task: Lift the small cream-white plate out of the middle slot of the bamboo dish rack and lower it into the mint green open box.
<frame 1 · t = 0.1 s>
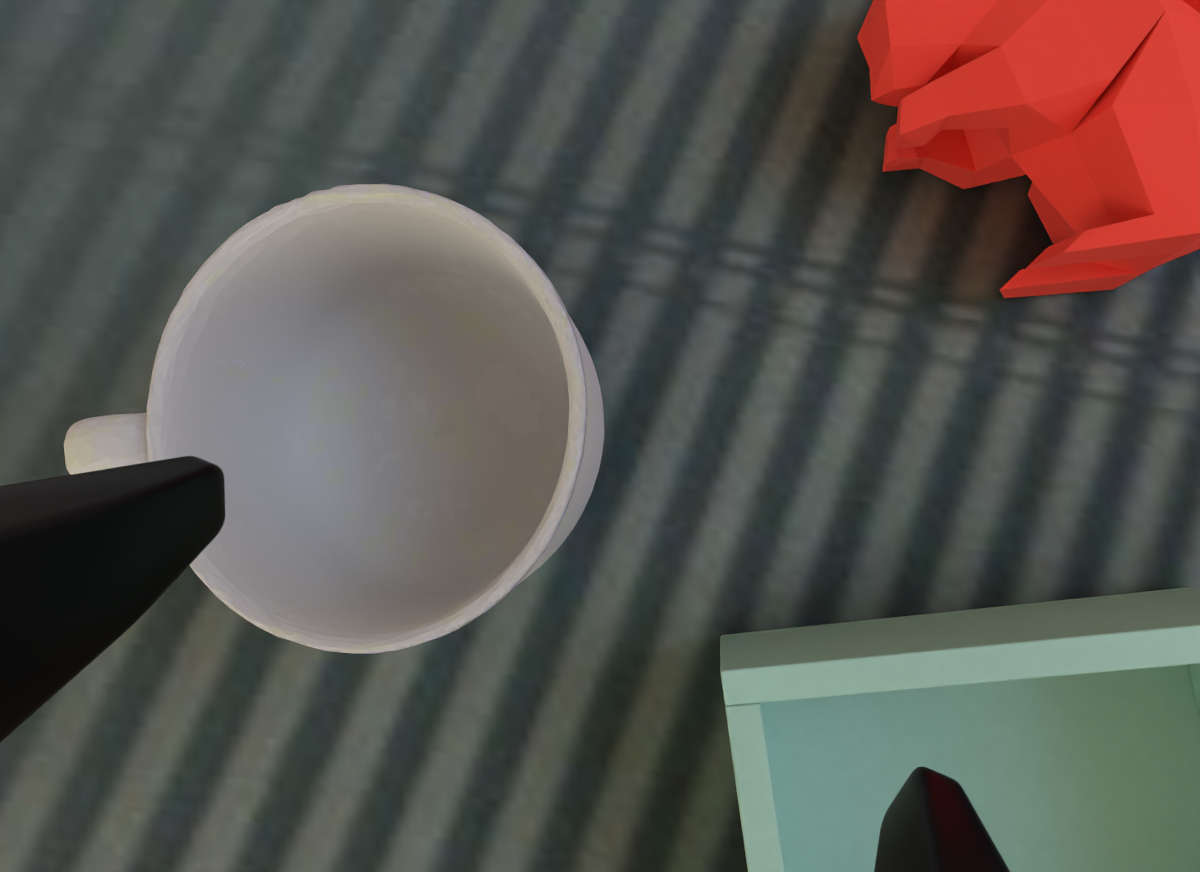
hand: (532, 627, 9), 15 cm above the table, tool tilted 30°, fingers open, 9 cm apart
teacup: (421, 442, 25), on the table
animal figurine: (1034, 64, 24), on the table
mint green open box: (982, 820, 21), on the table
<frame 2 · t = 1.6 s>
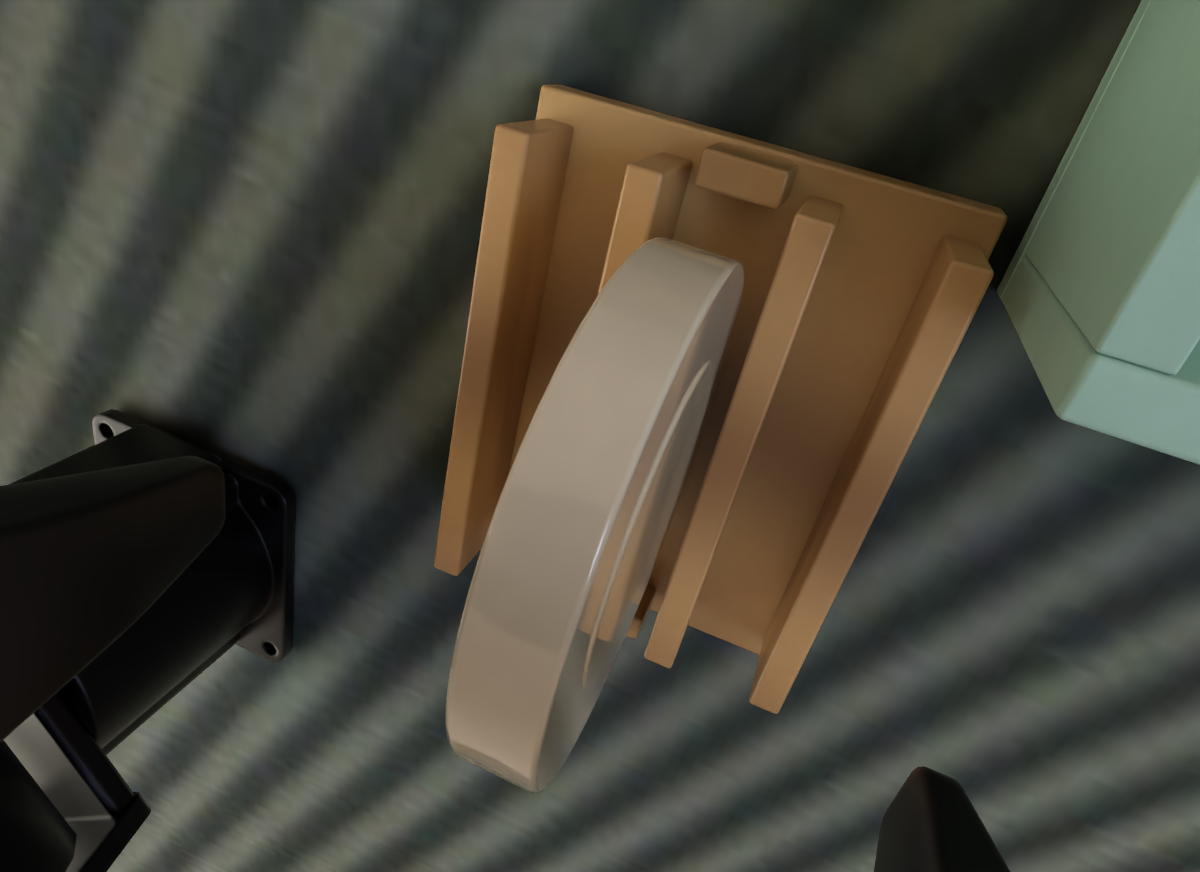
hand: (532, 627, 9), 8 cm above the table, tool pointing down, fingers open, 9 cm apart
dish rack: (688, 394, 16), on the table
plate: (679, 409, 15), point 1 cm above the table, touching dish rack
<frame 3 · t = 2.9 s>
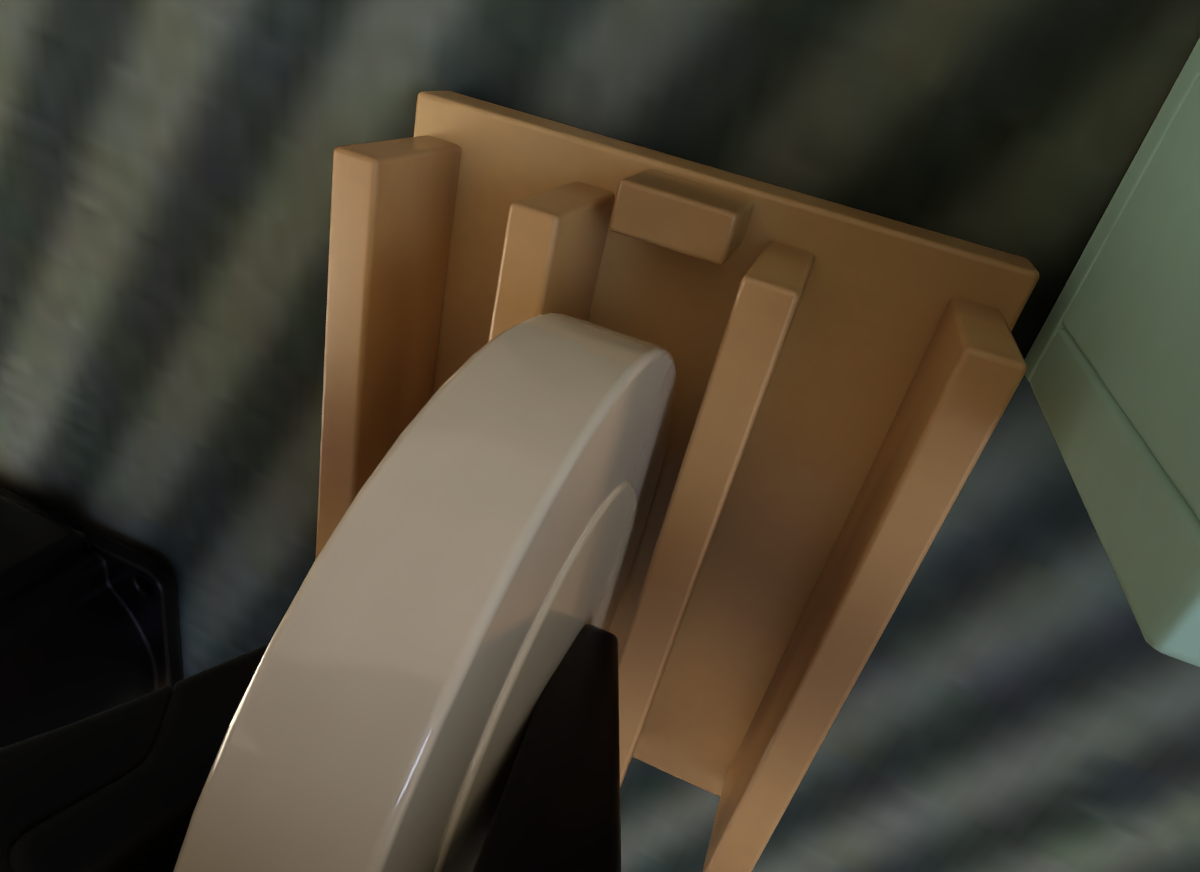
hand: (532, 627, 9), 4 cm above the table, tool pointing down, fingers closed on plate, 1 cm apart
dish rack: (627, 481, 12), on the table
plate: (611, 505, 12), point 1 cm above the table, touching dish rack, gripper
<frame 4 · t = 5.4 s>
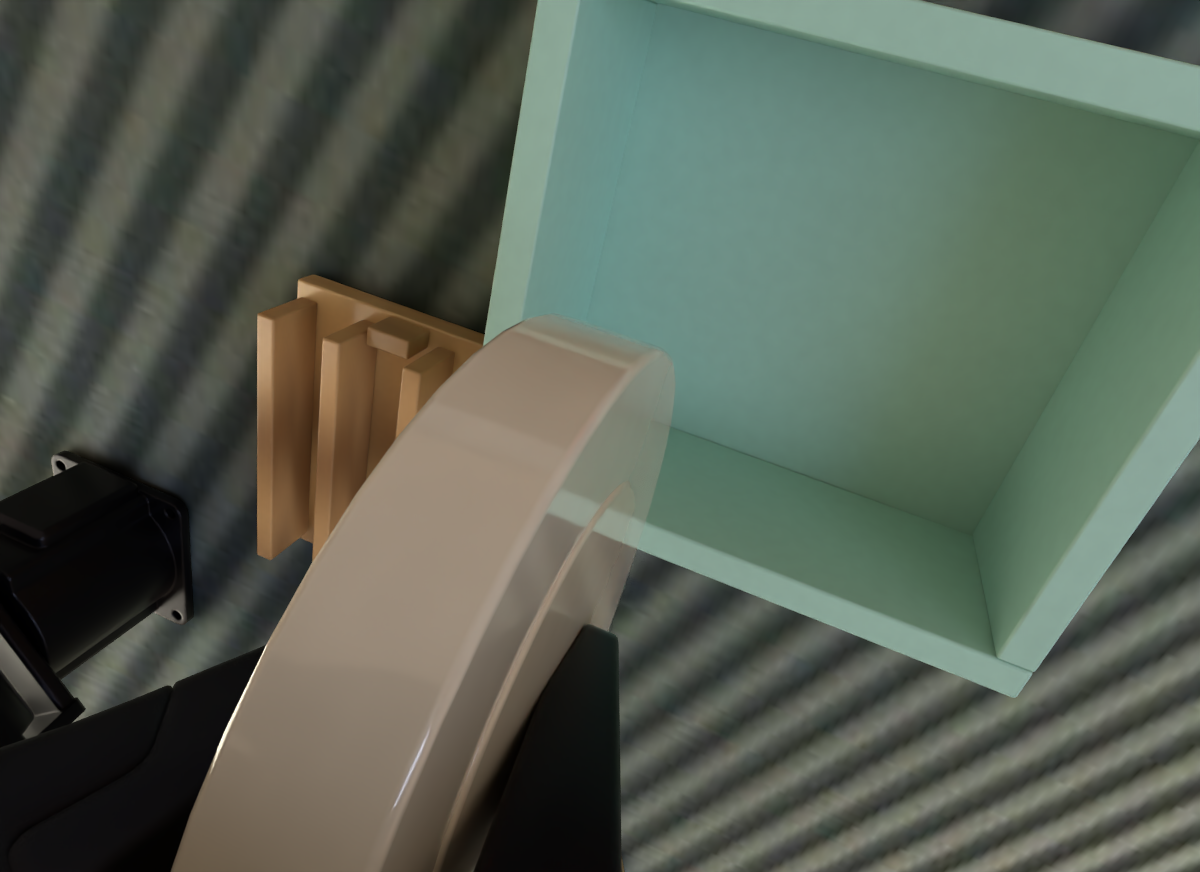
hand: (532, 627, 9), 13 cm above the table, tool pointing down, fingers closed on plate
dish rack: (408, 449, 26), on the table
plate: (610, 505, 12), point 10 cm above the table, touching gripper
mint green open box: (827, 282, 19), on the table
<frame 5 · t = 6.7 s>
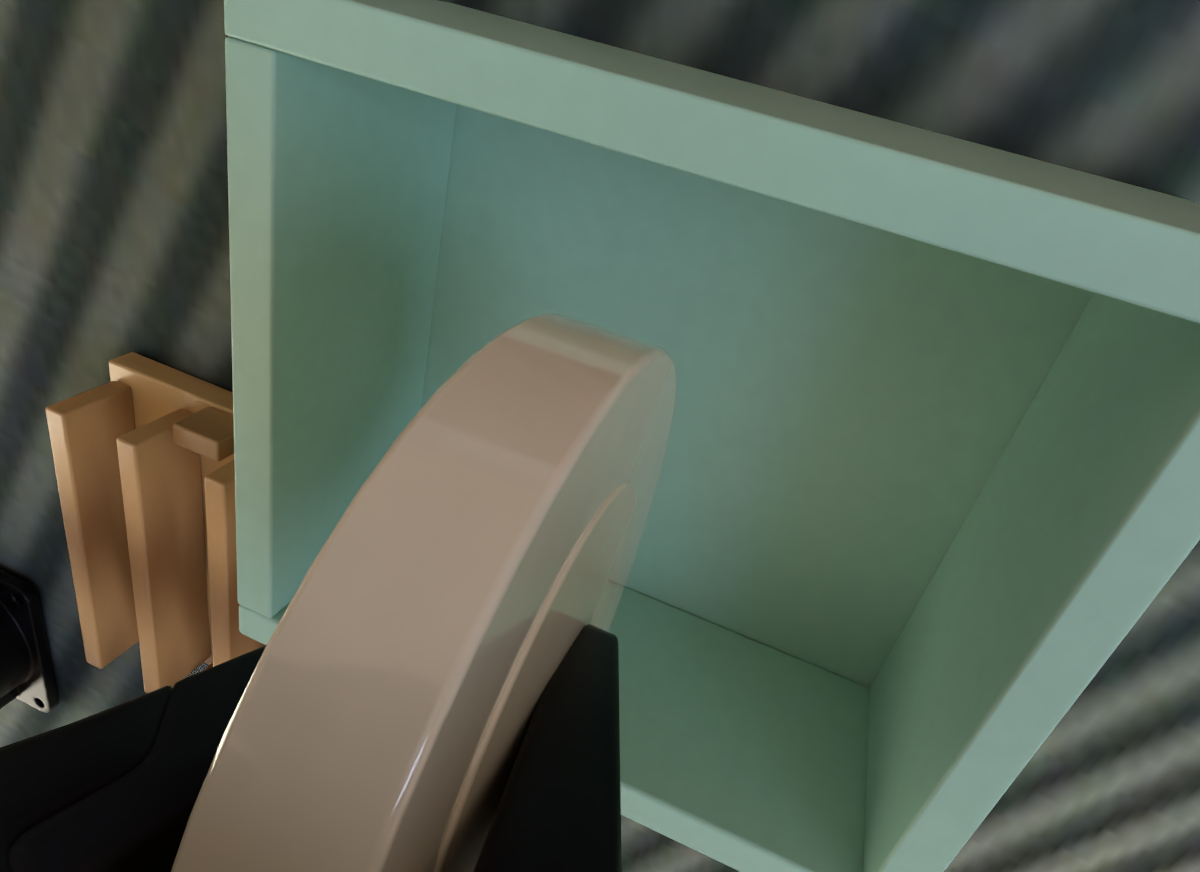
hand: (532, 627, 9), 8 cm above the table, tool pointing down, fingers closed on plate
dish rack: (254, 545, 23), on the table
plate: (610, 505, 12), point 5 cm above the table, touching gripper
mint green open box: (690, 388, 16), on the table
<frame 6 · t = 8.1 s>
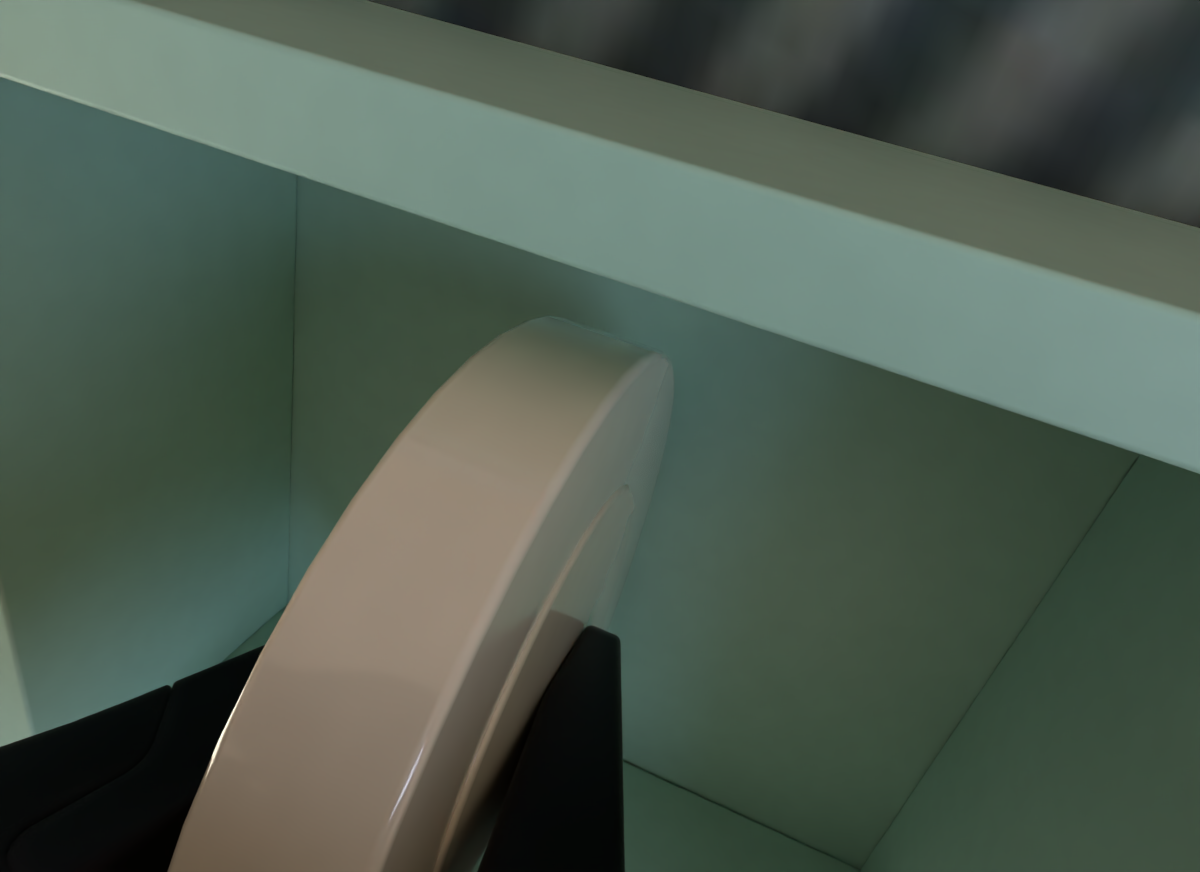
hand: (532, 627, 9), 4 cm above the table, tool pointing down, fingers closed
plate: (608, 508, 12), point 1 cm above the table, touching mint green open box
mint green open box: (625, 489, 12), on the table
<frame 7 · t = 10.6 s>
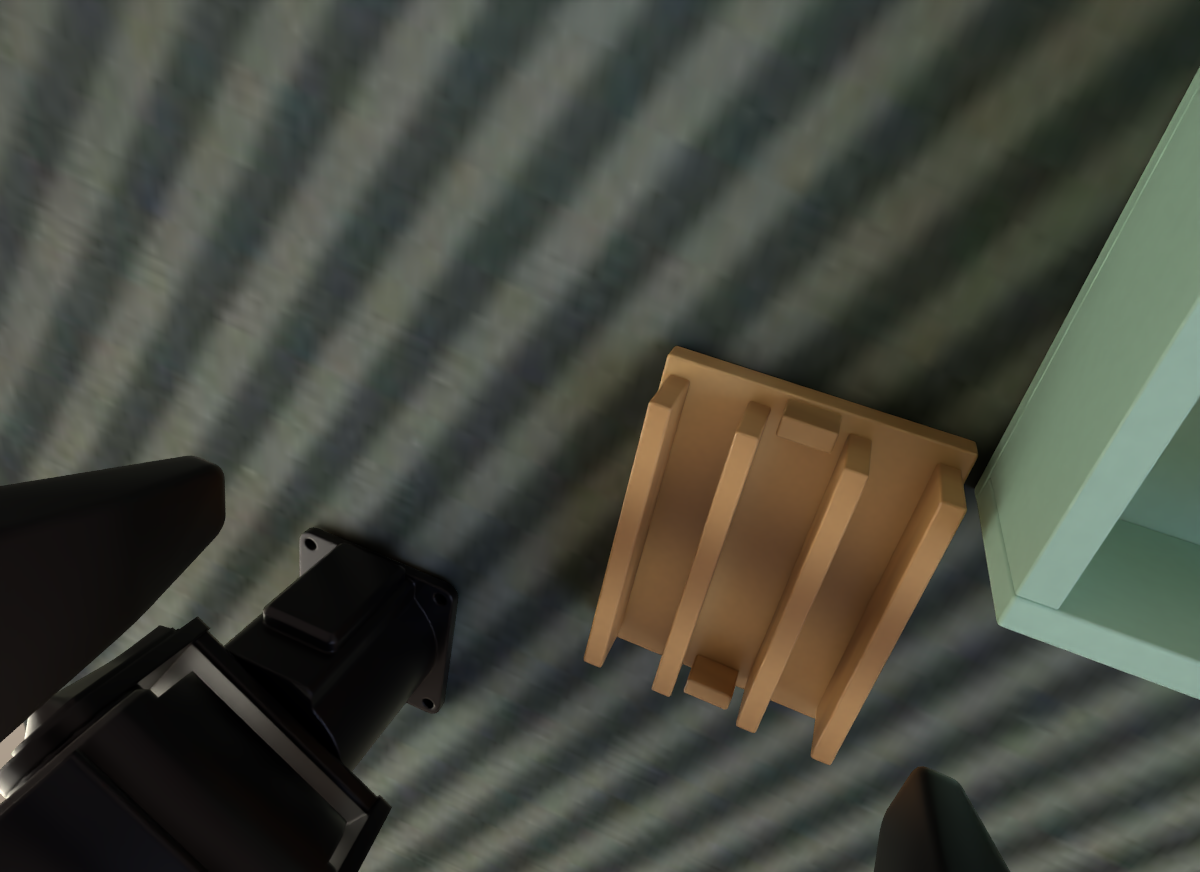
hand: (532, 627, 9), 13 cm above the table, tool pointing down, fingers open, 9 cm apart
dish rack: (762, 540, 22), on the table
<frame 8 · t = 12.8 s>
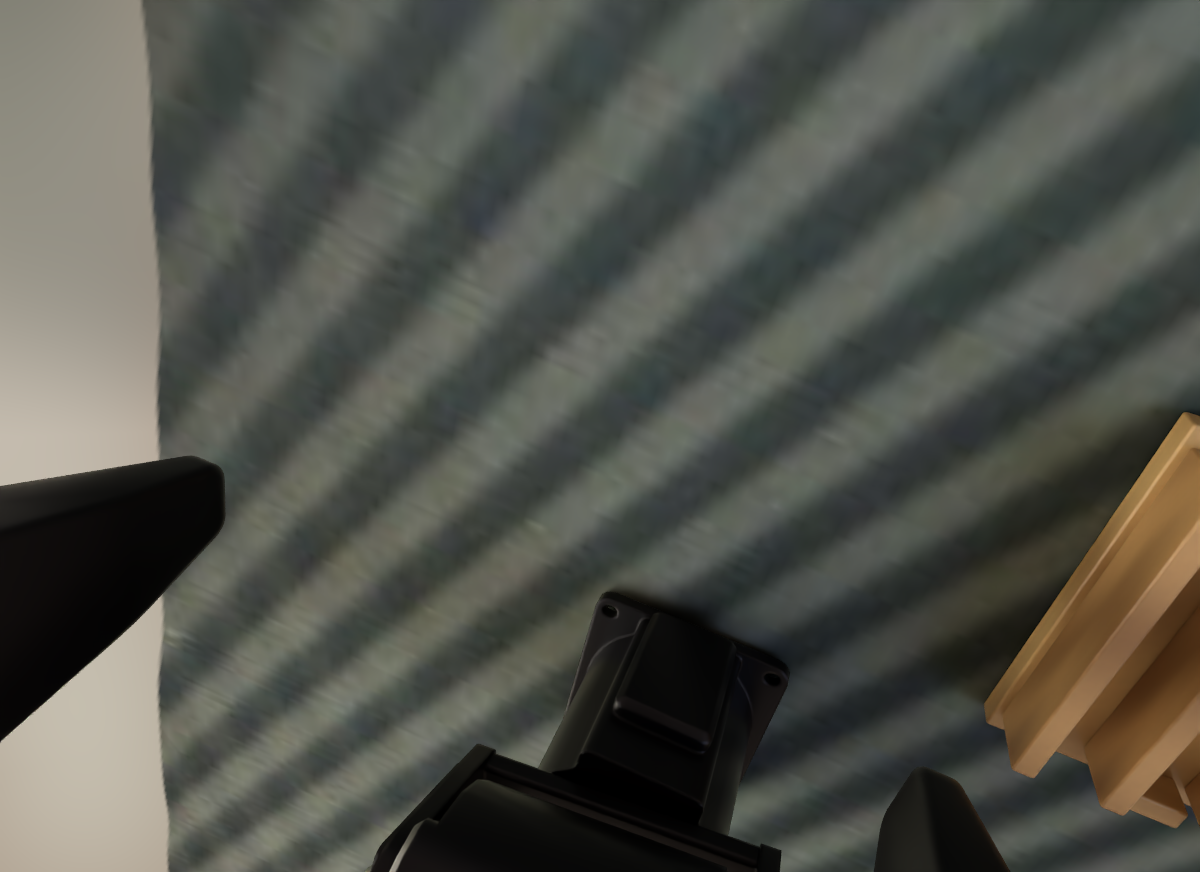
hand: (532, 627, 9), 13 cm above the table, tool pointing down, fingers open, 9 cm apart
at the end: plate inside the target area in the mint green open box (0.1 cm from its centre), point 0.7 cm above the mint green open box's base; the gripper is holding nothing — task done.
